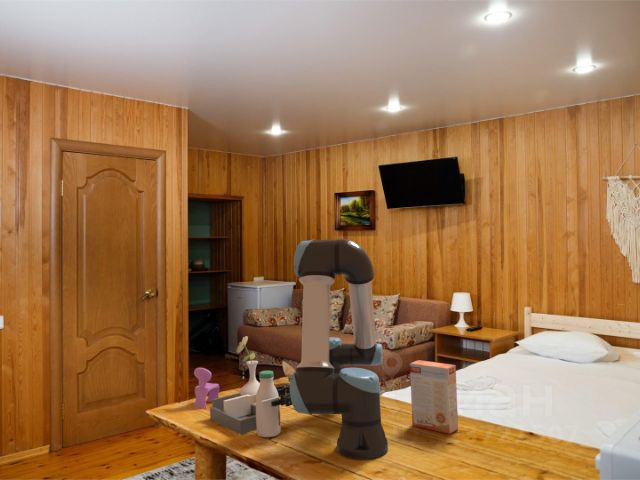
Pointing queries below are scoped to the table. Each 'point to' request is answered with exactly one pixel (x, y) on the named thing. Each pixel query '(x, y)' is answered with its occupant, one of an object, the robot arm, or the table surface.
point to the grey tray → (230, 421)
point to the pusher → (237, 406)
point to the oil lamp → (288, 370)
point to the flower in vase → (252, 383)
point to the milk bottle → (270, 417)
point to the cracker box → (434, 396)
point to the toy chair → (204, 388)
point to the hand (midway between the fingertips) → (254, 402)
